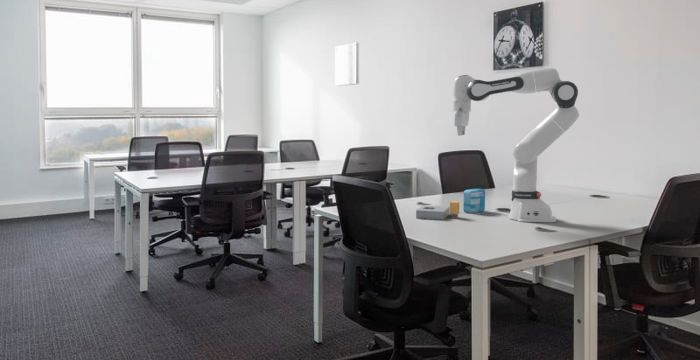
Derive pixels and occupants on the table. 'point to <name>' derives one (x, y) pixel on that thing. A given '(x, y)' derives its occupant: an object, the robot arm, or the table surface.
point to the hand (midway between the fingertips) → (461, 135)
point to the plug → (454, 209)
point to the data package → (474, 200)
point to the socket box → (433, 212)
